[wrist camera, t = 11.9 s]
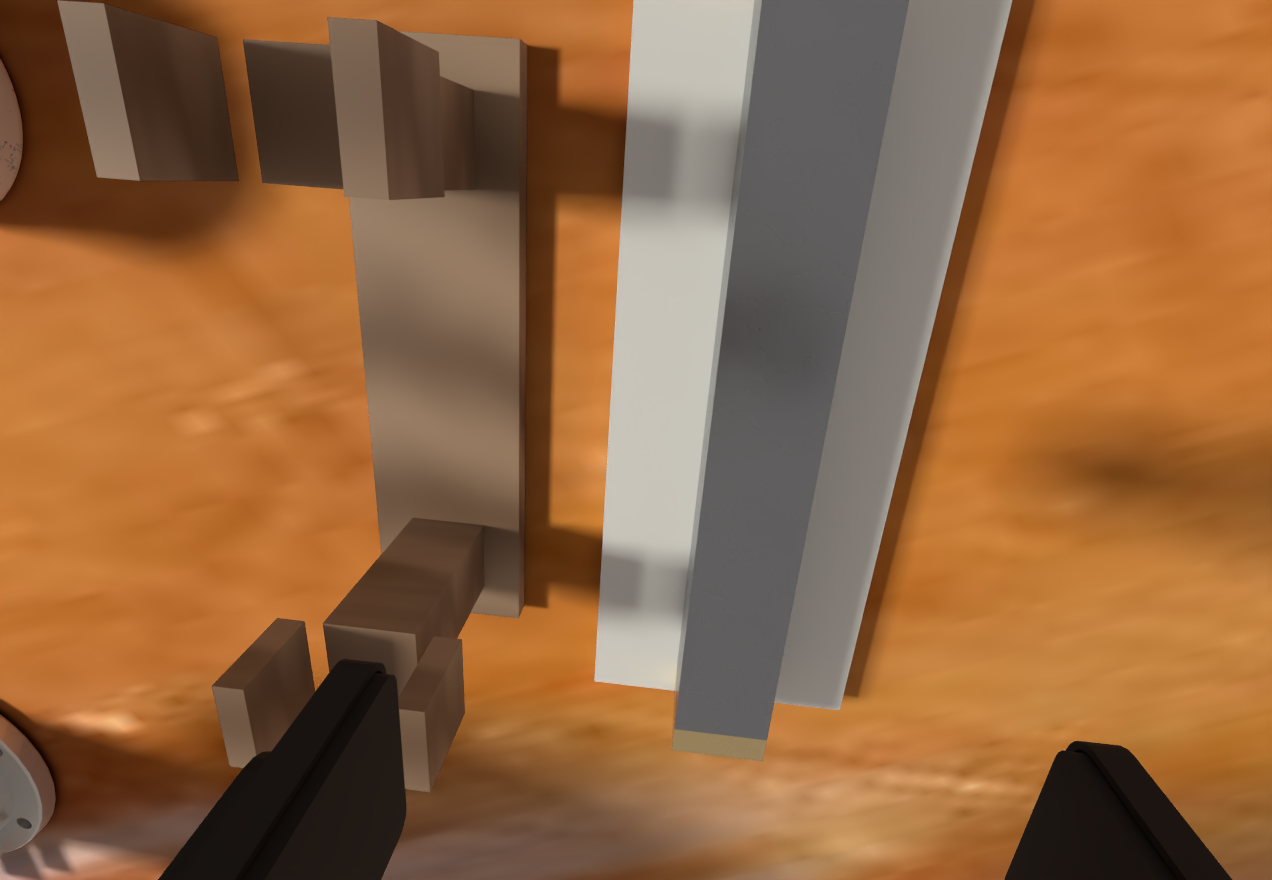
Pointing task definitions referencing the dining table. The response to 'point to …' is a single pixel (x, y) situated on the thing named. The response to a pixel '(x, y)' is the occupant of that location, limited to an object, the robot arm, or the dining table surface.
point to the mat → (688, 309)
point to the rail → (778, 348)
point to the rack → (370, 316)
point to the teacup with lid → (9, 133)
